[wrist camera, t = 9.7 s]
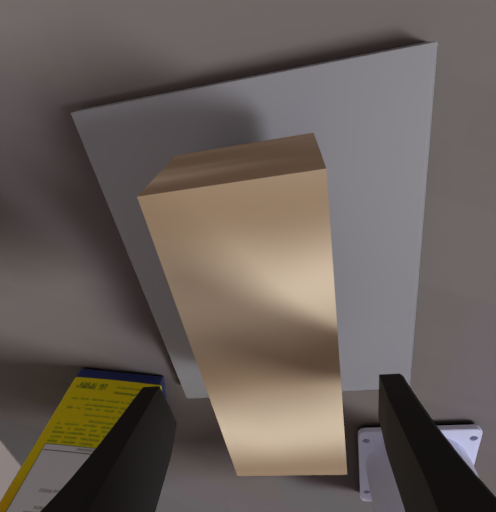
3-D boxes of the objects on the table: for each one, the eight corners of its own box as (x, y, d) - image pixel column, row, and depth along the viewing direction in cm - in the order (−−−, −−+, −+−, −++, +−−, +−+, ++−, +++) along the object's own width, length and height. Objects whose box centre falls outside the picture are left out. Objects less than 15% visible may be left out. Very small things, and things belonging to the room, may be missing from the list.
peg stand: (404, 374, 22) (421, 418, 19) (190, 385, 24) (179, 426, 22) (427, 41, 13) (463, 41, 10) (82, 109, 15) (41, 122, 13)
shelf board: (335, 397, 19) (347, 474, 16) (245, 401, 20) (237, 475, 16) (313, 132, 12) (326, 168, 9) (175, 155, 13) (136, 196, 9)
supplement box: (94, 418, 27) (-3, 615, 18) (80, 365, 24) (-47, 569, 15) (170, 427, 27) (112, 630, 18) (166, 374, 24) (92, 588, 15)
